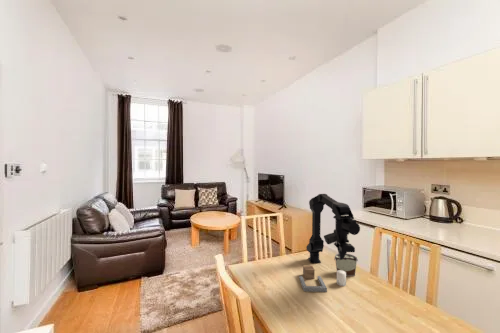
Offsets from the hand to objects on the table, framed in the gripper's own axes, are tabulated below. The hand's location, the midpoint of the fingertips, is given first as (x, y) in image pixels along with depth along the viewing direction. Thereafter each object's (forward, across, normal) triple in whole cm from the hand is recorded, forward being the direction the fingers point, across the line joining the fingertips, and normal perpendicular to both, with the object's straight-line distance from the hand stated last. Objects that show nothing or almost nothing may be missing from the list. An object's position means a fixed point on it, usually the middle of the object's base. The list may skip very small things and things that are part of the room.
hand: (341, 259), depth 116 cm
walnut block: (+13, -7, -15) cm, 21 cm away
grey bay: (+12, +1, -15) cm, 20 cm away
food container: (+13, -12, +6) cm, 18 cm away
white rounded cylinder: (+13, 0, 0) cm, 13 cm away
